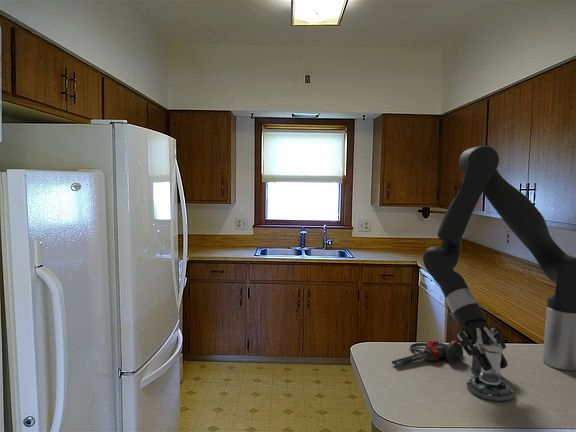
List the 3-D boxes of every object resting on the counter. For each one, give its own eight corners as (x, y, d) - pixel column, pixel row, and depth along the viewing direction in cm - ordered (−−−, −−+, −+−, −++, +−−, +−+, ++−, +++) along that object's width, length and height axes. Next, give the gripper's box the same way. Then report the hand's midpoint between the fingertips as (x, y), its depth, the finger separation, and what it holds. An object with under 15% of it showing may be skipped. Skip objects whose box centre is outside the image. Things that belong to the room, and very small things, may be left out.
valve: (436, 348, 141) (473, 359, 127) (375, 365, 130) (408, 379, 116) (434, 329, 141) (471, 338, 127) (373, 345, 130) (406, 356, 116)
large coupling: (487, 365, 123) (488, 340, 122) (506, 378, 115) (508, 350, 115) (465, 368, 121) (466, 342, 120) (483, 381, 114) (485, 353, 113)
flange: (489, 378, 115) (490, 371, 115) (523, 398, 104) (524, 390, 104) (457, 384, 111) (458, 376, 111) (489, 405, 101) (490, 396, 101)
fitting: (489, 376, 111) (492, 340, 110) (505, 385, 106) (507, 347, 105) (474, 379, 109) (476, 342, 108) (489, 388, 104) (492, 350, 104)
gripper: (451, 303, 111) (483, 366, 100) (493, 300, 115) (527, 359, 105) (437, 316, 116) (466, 377, 106) (477, 312, 121) (508, 370, 111)
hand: (496, 368), depth 106 cm, fingers closed on fitting, 4 cm apart
